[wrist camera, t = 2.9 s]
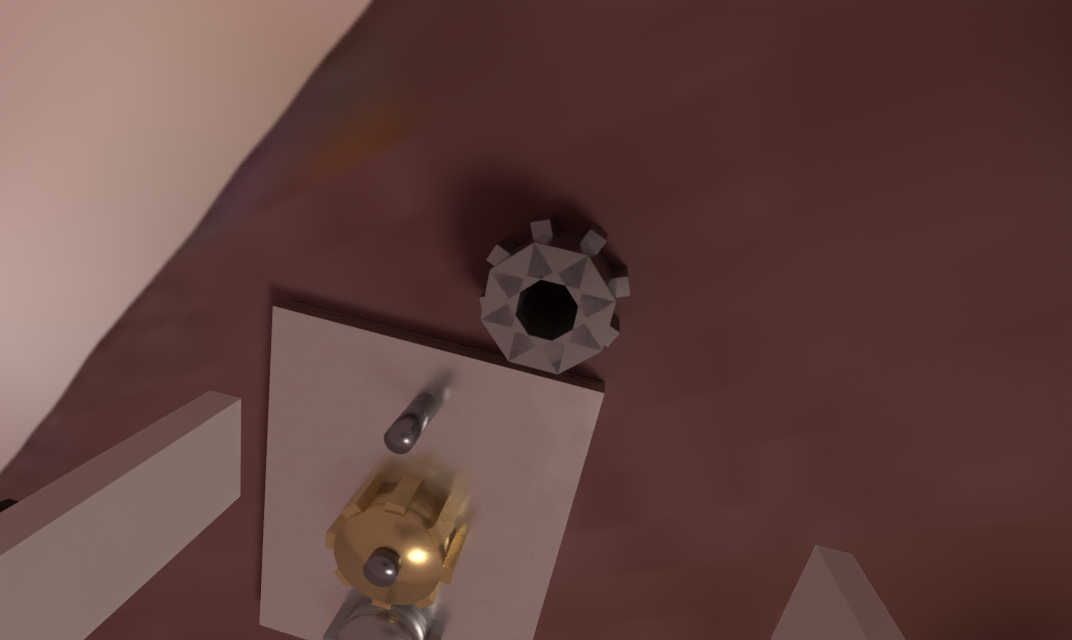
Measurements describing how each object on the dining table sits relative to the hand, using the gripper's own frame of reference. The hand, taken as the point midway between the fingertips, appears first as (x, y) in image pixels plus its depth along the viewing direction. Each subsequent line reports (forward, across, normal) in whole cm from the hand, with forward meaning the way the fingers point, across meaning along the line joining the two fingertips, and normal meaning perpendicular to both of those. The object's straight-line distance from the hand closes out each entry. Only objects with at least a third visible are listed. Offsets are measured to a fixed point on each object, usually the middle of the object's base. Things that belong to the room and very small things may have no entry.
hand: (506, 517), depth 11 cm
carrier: (+18, -7, -17) cm, 26 cm away
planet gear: (+18, -1, +1) cm, 18 cm away
